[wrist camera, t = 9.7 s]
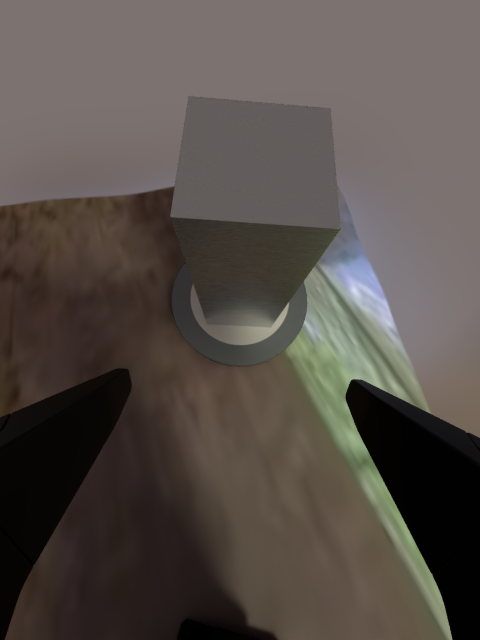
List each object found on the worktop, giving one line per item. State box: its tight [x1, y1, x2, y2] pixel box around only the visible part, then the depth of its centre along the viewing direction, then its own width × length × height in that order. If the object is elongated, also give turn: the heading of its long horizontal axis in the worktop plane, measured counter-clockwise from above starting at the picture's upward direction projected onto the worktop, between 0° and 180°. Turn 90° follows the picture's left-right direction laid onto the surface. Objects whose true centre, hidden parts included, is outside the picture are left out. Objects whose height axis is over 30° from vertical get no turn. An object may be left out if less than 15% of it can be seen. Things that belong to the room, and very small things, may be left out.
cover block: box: [170, 96, 341, 328], centre depth 13 cm, size 5×5×12 cm
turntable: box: [172, 262, 307, 366], centre depth 20 cm, size 11×11×1 cm
